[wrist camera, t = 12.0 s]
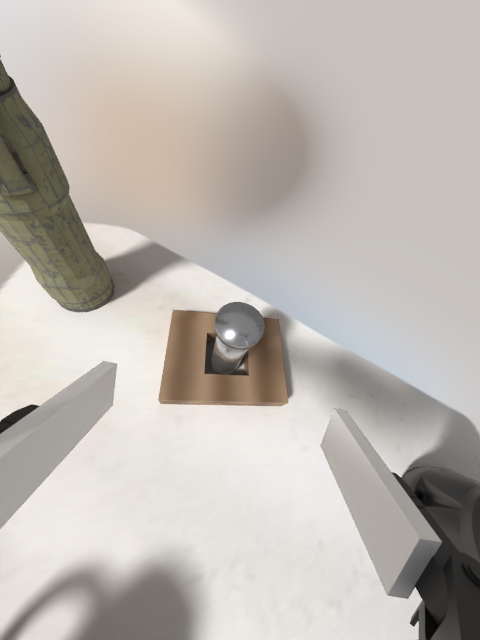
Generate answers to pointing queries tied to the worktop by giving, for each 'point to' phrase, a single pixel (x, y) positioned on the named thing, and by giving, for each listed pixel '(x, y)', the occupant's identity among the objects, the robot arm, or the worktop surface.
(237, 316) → the metal peg
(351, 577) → the worktop surface
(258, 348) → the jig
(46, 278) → the thermos
